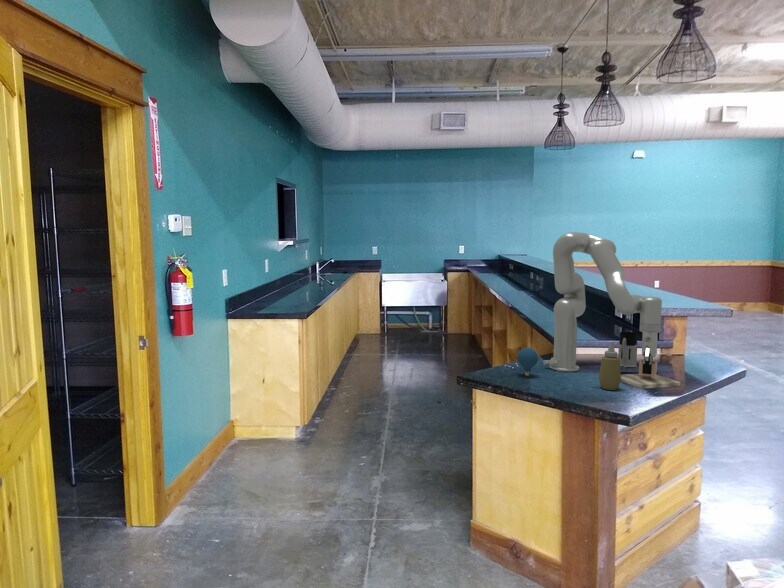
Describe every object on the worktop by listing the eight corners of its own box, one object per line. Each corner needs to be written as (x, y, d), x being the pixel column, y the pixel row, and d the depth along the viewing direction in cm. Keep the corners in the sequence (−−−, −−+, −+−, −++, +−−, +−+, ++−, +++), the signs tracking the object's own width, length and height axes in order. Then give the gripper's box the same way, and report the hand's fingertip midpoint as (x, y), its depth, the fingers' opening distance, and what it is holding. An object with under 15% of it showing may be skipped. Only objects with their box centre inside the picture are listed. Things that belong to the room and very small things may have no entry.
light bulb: (539, 375, 230) (540, 346, 229) (535, 379, 223) (536, 350, 222) (519, 372, 234) (520, 345, 233) (514, 377, 226) (515, 348, 225)
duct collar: (638, 374, 219) (639, 362, 219) (640, 371, 224) (640, 359, 224) (655, 376, 216) (655, 364, 216) (656, 373, 222) (657, 361, 221)
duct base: (641, 388, 211) (642, 364, 210) (614, 378, 226) (615, 355, 225) (680, 386, 215) (681, 362, 214) (651, 376, 231) (652, 354, 230)
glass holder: (639, 365, 252) (641, 332, 250) (632, 371, 240) (634, 337, 239) (619, 362, 257) (620, 330, 255) (611, 368, 245) (613, 335, 244)
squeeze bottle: (618, 392, 205) (621, 345, 203) (596, 389, 209) (598, 342, 208) (622, 387, 212) (624, 341, 210) (600, 384, 216) (602, 339, 215)
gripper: (658, 331, 209) (656, 377, 211) (661, 325, 224) (659, 369, 226) (637, 329, 213) (635, 375, 215) (641, 324, 228) (639, 366, 230)
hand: (647, 371), depth 220 cm, fingers closed on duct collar, 6 cm apart
